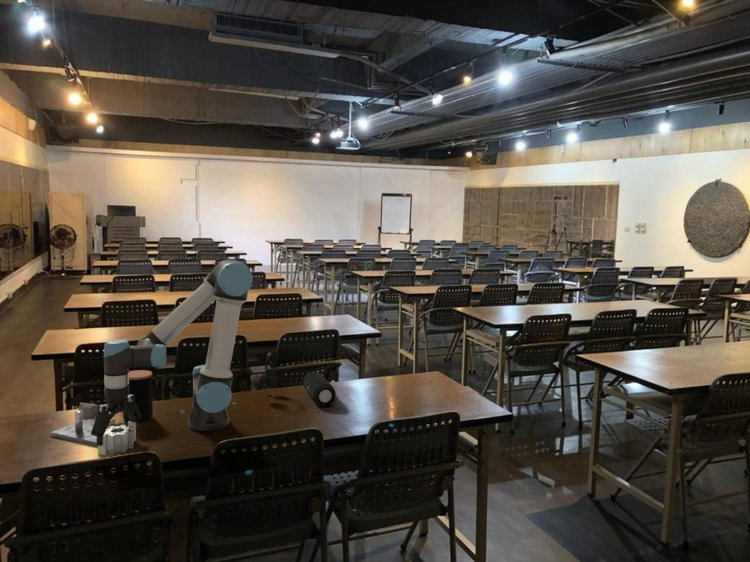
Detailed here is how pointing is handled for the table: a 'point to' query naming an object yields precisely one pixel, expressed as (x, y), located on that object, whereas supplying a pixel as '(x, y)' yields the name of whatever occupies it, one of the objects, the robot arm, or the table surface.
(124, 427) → the planet gear
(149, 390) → the coffee jar
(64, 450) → the table surface
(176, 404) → the table surface
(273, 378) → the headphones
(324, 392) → the portable speaker
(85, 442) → the carrier
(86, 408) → the stone
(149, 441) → the table surface
